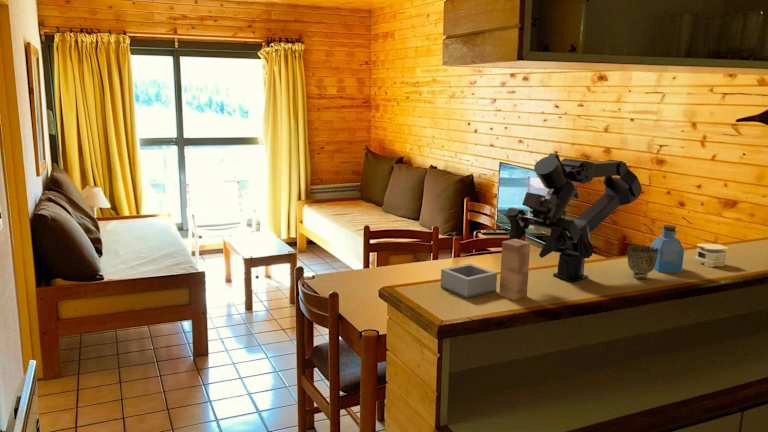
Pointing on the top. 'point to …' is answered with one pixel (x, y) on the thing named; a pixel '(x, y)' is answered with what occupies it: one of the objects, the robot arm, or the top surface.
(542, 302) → the top surface
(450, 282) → the slate well
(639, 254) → the cup
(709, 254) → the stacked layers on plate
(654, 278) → the top surface
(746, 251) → the top surface
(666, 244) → the perfume bottle
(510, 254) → the walnut block
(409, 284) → the top surface
